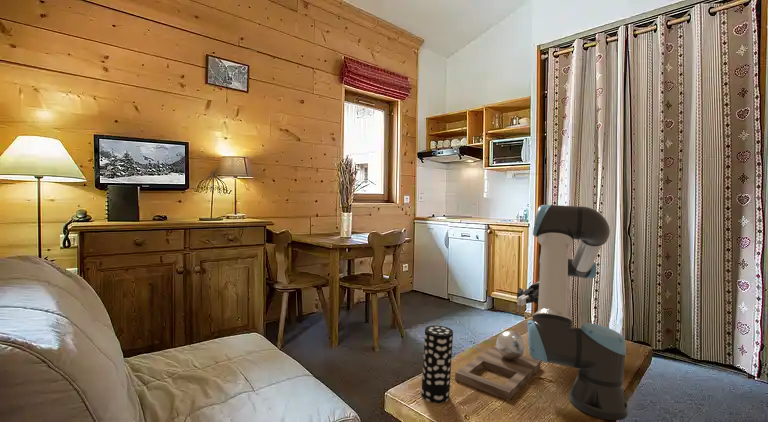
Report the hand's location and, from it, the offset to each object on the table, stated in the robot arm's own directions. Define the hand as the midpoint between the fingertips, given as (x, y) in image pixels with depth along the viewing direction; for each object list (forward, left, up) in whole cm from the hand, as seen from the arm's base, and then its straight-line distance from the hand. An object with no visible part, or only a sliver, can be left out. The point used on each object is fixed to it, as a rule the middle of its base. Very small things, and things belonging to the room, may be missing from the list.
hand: (520, 301), depth 142 cm
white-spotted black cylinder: (-25, +37, -22) cm, 50 cm away
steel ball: (-5, +5, -14) cm, 16 cm away
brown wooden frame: (-11, +11, -22) cm, 27 cm away
